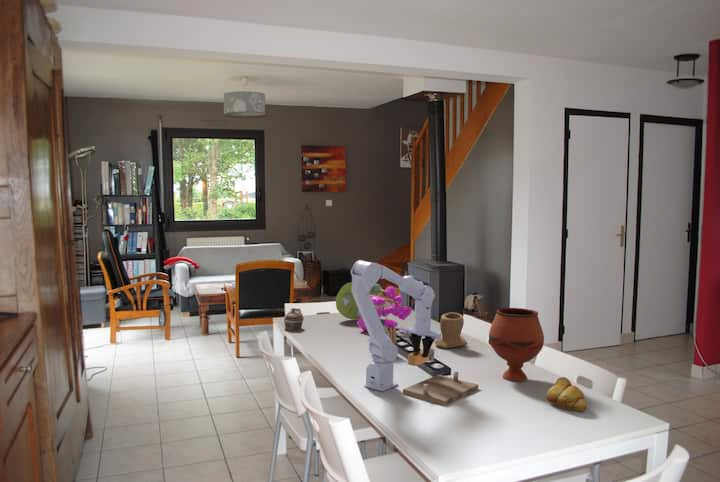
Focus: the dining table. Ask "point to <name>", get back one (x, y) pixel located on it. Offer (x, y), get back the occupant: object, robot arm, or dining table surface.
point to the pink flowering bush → (351, 311)
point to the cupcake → (293, 320)
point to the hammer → (420, 357)
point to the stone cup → (451, 331)
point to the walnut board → (441, 389)
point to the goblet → (516, 339)
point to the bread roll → (566, 395)
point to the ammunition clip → (391, 335)
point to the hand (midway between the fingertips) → (421, 356)
